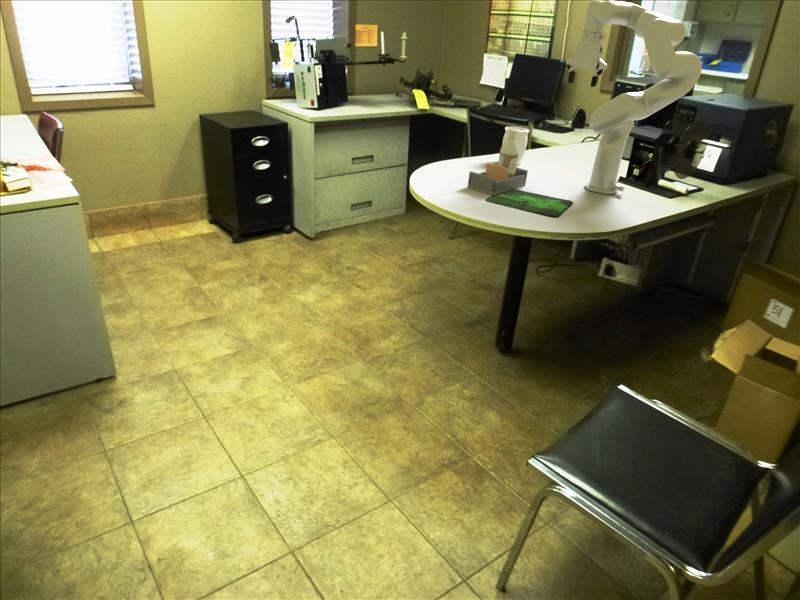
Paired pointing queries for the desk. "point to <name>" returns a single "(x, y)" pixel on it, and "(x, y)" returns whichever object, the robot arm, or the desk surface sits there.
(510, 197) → the mouse mat
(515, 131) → the bath foam
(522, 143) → the jar
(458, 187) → the desk surface
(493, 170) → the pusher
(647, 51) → the robot arm
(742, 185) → the desk surface
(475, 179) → the grey open box
